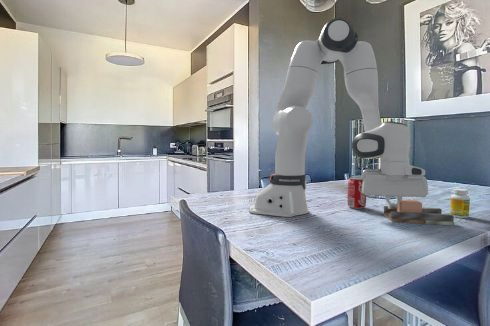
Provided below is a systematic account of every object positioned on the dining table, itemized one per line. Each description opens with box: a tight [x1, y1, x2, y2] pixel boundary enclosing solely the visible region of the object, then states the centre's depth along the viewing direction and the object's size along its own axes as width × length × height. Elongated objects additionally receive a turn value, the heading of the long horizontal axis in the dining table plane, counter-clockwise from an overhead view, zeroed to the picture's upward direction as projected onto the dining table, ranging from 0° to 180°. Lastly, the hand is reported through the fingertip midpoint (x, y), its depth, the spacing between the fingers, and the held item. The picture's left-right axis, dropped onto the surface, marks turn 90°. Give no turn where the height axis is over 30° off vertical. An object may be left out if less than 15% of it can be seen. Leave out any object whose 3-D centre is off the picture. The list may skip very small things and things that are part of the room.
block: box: [397, 198, 423, 213], centre depth 97 cm, size 6×5×5 cm
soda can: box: [346, 176, 367, 210], centre depth 113 cm, size 7×7×12 cm
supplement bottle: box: [449, 188, 471, 219], centre depth 99 cm, size 5×5×10 cm
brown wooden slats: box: [383, 205, 455, 226], centre depth 96 cm, size 18×11×3 cm, turn 77°
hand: (392, 208), depth 98 cm, fingers closed
